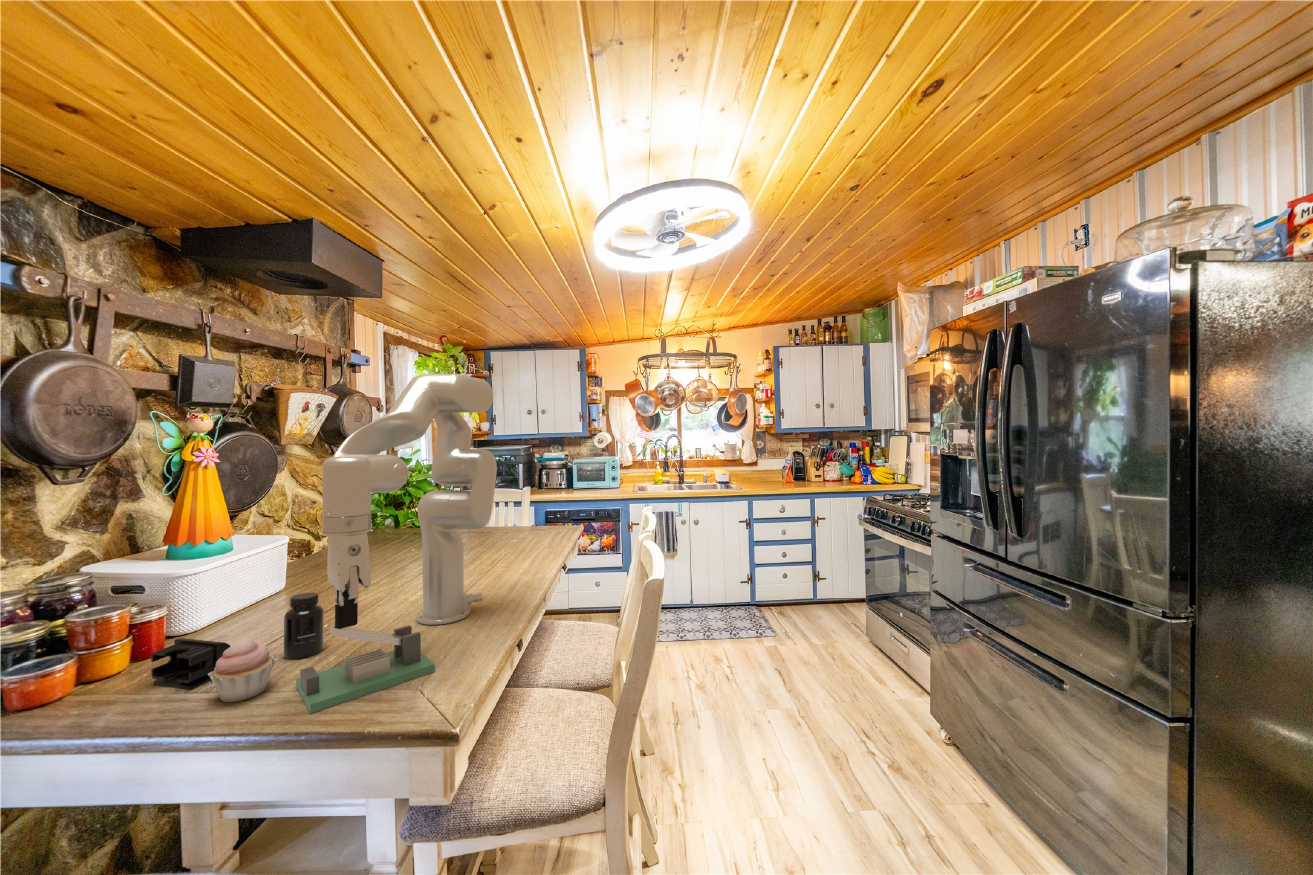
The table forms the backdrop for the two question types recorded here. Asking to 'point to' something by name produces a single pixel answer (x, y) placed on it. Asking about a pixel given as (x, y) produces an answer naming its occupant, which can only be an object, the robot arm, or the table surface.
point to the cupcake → (242, 671)
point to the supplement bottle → (303, 626)
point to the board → (365, 673)
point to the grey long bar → (366, 635)
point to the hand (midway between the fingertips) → (346, 625)
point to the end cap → (187, 663)
